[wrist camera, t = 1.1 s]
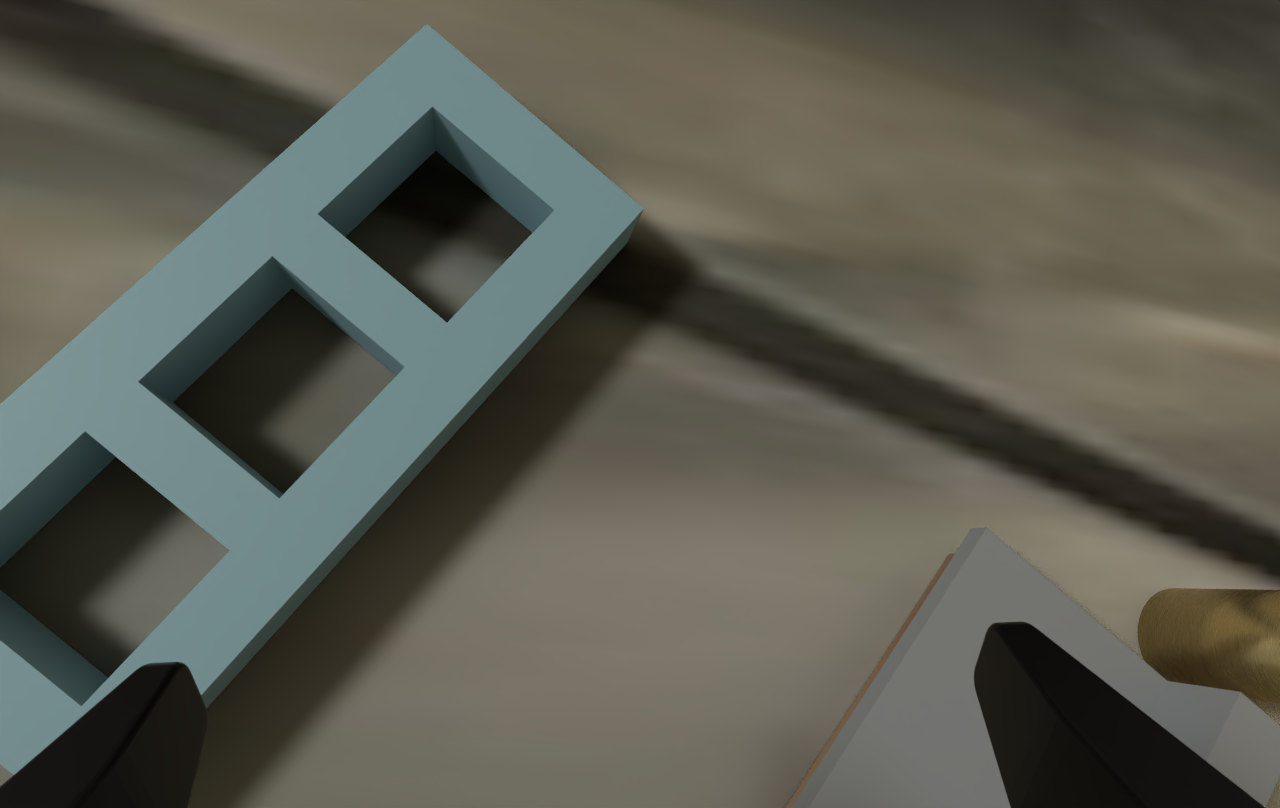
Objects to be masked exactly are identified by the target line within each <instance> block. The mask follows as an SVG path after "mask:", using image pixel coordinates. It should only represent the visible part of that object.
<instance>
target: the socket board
mask: <svg viewBox="0 0 1280 808" xmlns="http://www.w3.org/2000/svg"><path fill="white" fill-rule="evenodd" d="M435 151H436V152H438V153H439V154H440V155H441V156H442V157H444V158H445V159H446V160H447V161H448V162H449V163H451V164H452V165H453V166H454V167H455V168H457V169H458V170H459V171H460V172H461V173H462V174H464V175H465V176H466V177H467V178H468V179H470V180H471V181H472V182H473V183H474V184H475V185H477V186H478V187H479V188H480V189H481V190H483V191H484V192H485V193H486V194H487V195H488V196H490V197H491V198H492V199H493V200H494V201H496V202H497V203H498V204H499V205H500V206H501V207H503V208H504V209H505V210H506V211H507V212H509V213H510V214H511V215H512V216H513V217H514V218H516V219H517V220H518V221H519V222H520V223H522V224H523V225H524V226H525V227H526V228H527V229H529V230H530V231H531V232H532V234H531V235H530V236H529V237H528V238H527V240H526V241H525V242H524V243H523V244H522V245H521V246H520V247H519V248H518V249H517V250H516V251H515V252H514V253H513V254H512V255H511V256H510V257H509V258H508V259H507V260H506V262H505V263H504V264H503V265H502V266H501V267H500V268H499V269H498V270H497V271H496V272H495V273H494V274H493V275H492V276H491V277H490V278H489V279H488V280H487V281H486V283H485V284H484V285H483V286H482V287H481V288H480V289H479V290H478V291H477V292H476V293H475V294H474V295H473V296H472V297H471V298H470V299H469V300H468V301H467V302H466V303H465V305H464V306H463V307H462V308H461V309H460V310H459V311H458V312H457V313H456V314H455V315H454V316H453V317H452V318H451V319H450V320H449V321H448V322H445V321H444V320H443V319H442V318H441V317H440V316H438V315H437V314H436V313H435V312H434V311H432V310H431V309H430V308H429V307H428V306H426V305H425V304H424V303H423V302H422V301H420V300H419V299H418V298H417V297H416V296H415V295H413V294H412V293H411V292H410V291H409V290H407V289H406V288H405V287H404V286H403V285H401V284H400V283H399V282H398V281H397V280H395V279H394V278H393V277H392V276H391V275H390V274H388V273H387V272H386V271H385V270H384V269H382V268H381V267H380V266H379V265H378V264H376V263H375V262H374V261H373V260H372V259H370V258H369V257H368V256H367V255H366V254H365V253H363V252H362V251H361V250H360V249H359V248H357V247H356V246H355V245H354V244H353V243H351V242H350V241H349V240H348V239H347V238H345V237H346V236H347V235H348V234H349V233H350V232H351V231H352V230H353V229H354V228H356V227H357V226H358V225H359V224H360V223H361V222H362V221H363V220H364V219H365V218H366V217H367V216H368V215H369V214H370V213H371V212H372V211H373V210H374V209H375V208H376V207H377V206H379V205H380V204H381V203H382V202H383V201H384V200H385V199H386V198H387V197H388V196H389V195H390V194H391V193H392V192H393V191H394V190H395V189H396V188H397V187H398V186H399V185H400V184H401V183H403V182H404V181H405V180H406V179H407V178H408V177H409V176H410V175H411V174H412V173H413V172H414V171H415V170H416V169H417V168H418V167H419V166H420V165H421V164H422V163H423V162H424V161H425V160H427V159H428V158H429V157H430V156H431V155H432V154H433V153H434V152H435ZM643 209H644V208H642V207H641V206H640V205H639V204H638V203H637V202H635V201H634V200H633V199H632V198H631V197H630V196H628V195H627V194H626V193H625V192H624V191H623V190H621V189H620V188H619V187H618V186H617V185H615V184H614V183H613V182H612V181H611V180H610V179H608V178H607V177H606V176H605V175H604V174H603V173H601V172H600V171H599V170H598V169H597V168H596V167H594V166H593V165H592V164H591V163H590V162H588V161H587V160H586V159H585V158H584V157H583V156H581V155H580V154H579V153H578V152H577V151H576V150H574V149H573V148H572V147H571V146H570V145H568V144H567V143H566V142H565V141H564V140H563V139H561V138H560V137H559V136H558V135H557V134H556V133H554V132H553V131H552V130H551V129H550V128H549V127H547V126H546V125H545V124H544V123H543V122H541V121H540V120H539V119H538V118H537V117H536V116H534V115H533V114H532V113H531V112H530V111H529V110H527V109H526V108H525V107H524V106H523V105H521V104H520V103H519V102H518V101H517V100H516V99H514V98H513V97H512V96H511V95H510V94H509V93H507V92H506V91H505V90H504V89H503V88H502V87H500V86H499V85H498V84H497V83H496V82H494V81H493V80H492V79H491V78H490V77H489V76H487V75H486V74H485V73H484V72H483V71H482V70H480V69H479V68H478V67H477V66H476V65H475V64H473V63H472V62H471V61H470V60H469V59H467V58H466V57H465V56H464V55H463V54H462V53H460V52H459V51H458V50H457V49H456V48H455V47H453V46H452V45H451V44H450V43H449V42H447V41H446V40H445V39H444V38H443V37H442V36H440V35H439V34H438V33H437V32H436V31H435V30H433V29H432V28H431V27H430V26H429V25H428V24H426V25H425V26H424V27H423V28H422V29H421V30H419V31H418V32H417V33H416V34H415V35H414V36H413V37H412V38H410V39H409V40H408V41H407V42H406V43H405V44H404V45H403V46H402V47H400V48H399V49H398V50H397V51H396V52H395V53H394V54H393V55H391V56H390V57H389V58H388V59H387V60H386V61H385V62H384V63H382V64H381V65H380V66H379V67H378V68H377V69H376V70H375V71H373V72H372V73H371V74H370V75H369V76H368V77H367V78H366V79H365V80H363V81H362V82H361V83H360V84H359V85H358V86H357V87H356V88H354V89H353V90H352V91H351V92H350V93H349V94H348V95H347V96H345V97H344V98H343V99H342V100H341V101H340V102H339V103H338V104H336V105H335V106H334V107H333V108H332V109H331V110H330V111H329V112H328V113H326V114H325V115H324V116H323V117H322V118H321V119H320V120H319V121H317V122H316V123H315V124H314V125H313V126H312V127H311V128H310V129H308V130H307V131H306V132H305V133H304V134H303V135H302V136H301V137H299V138H298V139H297V140H296V141H295V142H294V143H293V144H292V145H291V146H289V147H288V148H287V149H286V150H285V151H284V152H283V153H282V154H280V155H279V156H278V157H277V158H276V159H275V160H274V161H273V162H271V163H270V164H269V165H268V166H267V167H266V168H265V169H264V170H262V171H261V172H260V173H259V174H258V175H257V176H256V177H255V178H254V179H252V180H251V181H250V182H249V183H248V184H247V185H246V186H245V187H243V188H242V189H241V190H240V191H239V192H238V193H237V194H236V195H234V196H233V197H232V198H231V199H230V200H229V201H228V202H227V203H225V204H224V205H223V206H222V207H221V208H220V209H219V210H218V211H217V212H215V213H214V214H213V215H212V216H211V217H210V218H209V219H208V220H206V221H205V222H204V223H203V224H202V225H201V226H200V227H199V228H197V229H196V230H195V231H194V232H193V233H192V234H191V235H190V236H188V237H187V238H186V239H185V240H184V241H183V242H182V243H181V244H180V245H178V246H177V247H176V248H175V249H174V250H173V251H172V252H171V253H169V254H168V255H167V256H166V257H165V258H164V259H163V260H162V261H160V262H159V263H158V264H157V265H156V266H155V267H154V268H153V269H151V270H150V271H149V272H148V273H147V274H146V275H145V276H144V277H143V278H141V279H140V280H139V281H138V282H137V283H136V284H135V285H134V286H132V287H131V288H130V289H129V290H128V291H127V292H126V293H125V294H123V295H122V296H121V297H120V298H119V299H118V300H117V301H116V302H114V303H113V304H112V305H111V306H110V307H109V308H108V309H107V310H106V311H104V312H103V313H102V314H101V315H100V316H99V317H98V318H97V319H95V320H94V321H93V322H92V323H91V324H90V325H89V326H88V327H86V328H85V329H84V330H83V331H82V332H81V333H80V334H79V335H77V336H76V337H75V338H74V339H73V340H72V341H71V342H70V343H69V344H67V345H66V346H65V347H64V348H63V349H62V350H61V351H60V352H58V353H57V354H56V355H55V356H54V357H53V358H52V359H51V360H49V361H48V362H47V363H46V364H45V365H44V366H43V367H42V368H40V369H39V370H38V371H37V372H36V373H35V374H34V375H33V376H32V377H30V378H29V379H28V380H27V381H26V382H25V383H24V384H23V385H21V386H20V387H19V388H18V389H17V390H16V391H15V392H14V393H12V394H11V395H10V396H9V397H8V398H7V399H6V400H5V401H3V402H2V403H1V404H0V568H1V567H2V566H3V565H4V564H5V563H6V562H7V561H8V560H9V559H10V558H11V557H12V556H13V555H14V554H15V553H16V552H17V551H18V550H19V549H21V548H22V547H23V546H24V545H25V544H26V543H27V542H28V541H29V540H30V539H31V538H32V537H33V536H34V535H35V534H36V533H37V532H38V531H39V530H40V529H41V528H42V527H43V526H45V525H46V524H47V523H48V522H49V521H50V520H51V519H52V518H53V517H54V516H55V515H56V514H57V513H58V512H59V511H60V510H61V509H62V508H63V507H64V506H65V505H66V504H67V503H69V502H70V501H71V500H72V499H73V498H74V497H75V496H76V495H77V494H78V493H79V492H80V491H81V490H82V489H83V488H84V487H85V486H86V485H87V484H88V483H89V482H90V481H91V480H93V479H94V478H95V477H96V476H97V475H98V474H99V473H100V472H101V471H102V470H103V469H104V468H105V467H106V466H107V465H108V464H109V463H110V462H111V461H112V460H113V459H114V458H115V457H117V458H118V459H119V460H121V461H122V462H123V463H124V464H125V465H127V466H128V467H129V468H130V469H131V470H133V471H134V472H135V473H136V474H138V475H139V476H140V477H141V478H142V479H144V480H145V481H146V482H147V483H148V484H150V485H151V486H152V487H153V488H155V489H156V490H157V491H158V492H159V493H161V494H162V495H163V496H164V497H165V498H167V499H168V500H169V501H170V502H172V503H173V504H174V505H175V506H176V507H178V508H179V509H180V510H181V511H182V512H184V513H185V514H186V515H187V516H188V517H190V518H191V519H192V520H193V521H195V522H196V523H197V524H198V525H199V526H201V527H202V528H203V529H204V530H205V531H207V532H208V533H209V534H210V535H212V536H213V537H214V538H215V539H216V540H218V541H219V542H220V543H221V544H222V545H224V546H225V547H226V548H227V549H229V550H230V551H229V552H228V553H227V554H226V555H225V556H224V557H223V558H222V559H221V560H220V561H219V563H218V564H217V565H216V566H215V567H214V568H213V569H212V570H211V571H210V572H209V573H208V574H207V575H206V576H205V577H204V578H203V579H202V580H201V581H200V582H199V583H198V585H197V586H196V587H195V588H194V589H193V590H192V591H191V592H190V593H189V594H188V595H187V596H186V597H185V598H184V599H183V600H182V601H181V602H180V603H179V604H178V606H177V607H176V608H175V609H174V610H173V611H172V612H171V613H170V614H169V615H168V616H167V617H166V618H165V619H164V620H163V621H162V622H161V623H160V624H159V625H158V626H157V628H156V629H155V630H154V631H153V632H152V633H151V634H150V635H149V636H148V637H147V638H146V639H145V640H144V641H143V642H142V643H141V644H140V645H139V646H138V647H137V648H136V650H135V651H134V652H133V653H132V654H131V655H130V656H129V657H128V658H127V659H126V660H125V661H124V662H123V663H122V664H121V665H120V666H119V667H118V668H117V669H116V671H115V672H114V673H113V674H112V675H111V676H110V677H109V678H108V677H107V676H106V675H104V674H103V673H102V672H101V671H100V670H98V669H97V668H96V667H95V666H93V665H92V664H91V663H90V662H89V661H87V660H86V659H85V658H84V657H82V656H81V655H80V654H79V653H77V652H76V651H75V650H74V649H73V648H71V647H70V646H69V645H68V644H66V643H65V642H64V641H63V640H62V639H60V638H59V637H58V636H57V635H55V634H54V633H53V632H52V631H51V630H49V629H48V628H47V627H46V626H44V625H43V624H42V623H41V622H39V621H38V620H37V619H36V618H35V617H33V616H32V615H31V614H30V613H28V612H27V611H26V610H25V609H24V608H22V607H21V606H20V605H19V604H17V603H16V602H15V601H14V600H12V599H11V598H10V597H9V596H8V595H6V594H5V593H4V592H3V591H1V590H0V765H2V766H3V767H4V768H5V769H7V770H8V771H9V772H10V773H12V774H13V775H14V774H16V773H17V772H18V771H19V770H20V769H21V768H23V767H24V766H25V765H26V764H27V763H28V762H30V761H31V760H32V759H33V758H34V757H35V756H37V755H38V754H39V753H40V752H41V751H42V750H44V749H45V748H46V747H47V746H48V745H49V744H50V743H52V742H53V741H54V740H55V739H56V738H57V737H59V736H60V735H61V734H62V733H63V732H64V731H66V730H67V729H68V728H69V727H70V726H71V725H73V724H74V723H75V722H76V721H77V720H78V719H80V718H81V717H82V716H83V715H84V714H85V713H87V712H88V711H89V710H90V709H91V708H92V707H94V706H95V705H96V704H97V703H98V702H99V701H100V700H102V699H103V698H104V697H105V696H106V695H107V694H109V693H110V692H111V691H112V690H113V689H114V688H116V687H117V686H118V685H119V684H120V683H121V682H123V681H124V680H125V679H126V678H127V677H128V676H130V675H131V674H132V673H133V672H134V671H135V670H137V669H138V668H140V667H141V666H143V665H146V664H149V663H162V662H182V663H184V664H185V665H187V666H188V668H189V669H190V671H191V673H192V676H193V678H194V680H195V682H196V685H197V687H198V689H199V692H200V694H201V696H202V698H203V701H204V703H205V705H206V708H208V707H209V706H210V704H211V703H212V702H213V701H214V700H215V699H216V698H217V697H218V696H219V694H220V693H221V692H222V691H223V690H224V689H225V688H226V687H227V686H228V684H229V683H230V682H231V681H232V680H233V679H234V678H235V677H236V676H237V675H238V673H239V672H240V671H241V670H242V669H243V668H244V667H245V666H246V665H247V663H248V662H249V661H250V660H251V659H252V658H253V657H254V656H255V655H256V653H257V652H258V651H259V650H260V649H261V648H262V647H263V646H264V645H265V644H266V642H267V641H268V640H269V639H270V638H271V637H272V636H273V635H274V634H275V632H276V631H277V630H278V629H279V628H280V627H281V626H282V625H283V624H284V622H285V621H286V620H287V619H288V618H289V617H290V616H291V615H292V614H293V612H294V611H295V610H296V609H297V608H298V607H299V606H300V605H301V604H302V603H303V601H304V600H305V599H306V598H307V597H308V596H309V595H310V594H311V593H312V591H313V590H314V589H315V588H316V587H317V586H318V585H319V584H320V583H321V581H322V580H323V579H324V578H325V577H326V576H327V575H328V574H329V573H330V571H331V570H332V569H333V568H334V567H335V566H336V565H337V564H338V563H339V562H340V560H341V559H342V558H343V557H344V556H345V555H346V554H347V553H348V552H349V550H350V549H351V548H352V547H353V546H354V545H355V544H356V543H357V542H358V540H359V539H360V538H361V537H362V536H363V535H364V534H365V533H366V532H367V531H368V529H369V528H370V527H371V526H372V525H373V524H374V523H375V522H376V521H377V519H378V518H379V517H380V516H381V515H382V514H383V513H384V512H385V511H386V509H387V508H388V507H389V506H390V505H391V504H392V503H393V502H394V501H395V499H396V498H397V497H398V496H399V495H400V494H401V493H402V492H403V491H404V490H405V488H406V487H407V486H408V485H409V484H410V483H411V482H412V481H413V480H414V478H415V477H416V476H417V475H418V474H419V473H420V472H421V471H422V470H423V468H424V467H425V466H426V465H427V464H428V463H429V462H430V461H431V460H432V459H433V457H434V456H435V455H436V454H437V453H438V452H439V451H440V450H441V449H442V447H443V446H444V445H445V444H446V443H447V442H448V441H449V440H450V439H451V437H452V436H453V435H454V434H455V433H456V432H457V431H458V430H459V429H460V427H461V426H462V425H463V424H464V423H465V422H466V421H467V420H468V419H469V418H470V416H471V415H472V414H473V413H474V412H475V411H476V410H477V409H478V408H479V406H480V405H481V404H482V403H483V402H484V401H485V400H486V399H487V398H488V396H489V395H490V394H491V393H492V392H493V391H494V390H495V389H496V388H497V387H498V385H499V384H500V383H501V382H502V381H503V380H504V379H505V378H506V377H507V375H508V374H509V373H510V372H511V371H512V370H513V369H514V368H515V367H516V365H517V364H518V363H519V362H520V361H521V360H522V359H523V358H524V357H525V355H526V354H527V353H528V352H529V351H530V350H531V349H532V348H533V347H534V346H535V344H536V343H537V342H538V341H539V340H540V339H541V338H542V337H543V336H544V334H545V333H546V332H547V331H548V330H549V329H550V328H551V327H552V326H553V324H554V323H555V322H556V321H557V320H558V319H559V318H560V317H561V316H562V314H563V313H564V312H565V311H566V310H567V309H568V308H569V307H570V306H571V305H572V303H573V302H574V301H575V300H576V299H577V298H578V297H579V296H580V295H581V293H582V292H583V291H584V290H585V289H586V288H587V287H588V286H589V285H590V283H591V282H592V281H593V280H594V279H595V278H596V277H597V276H598V275H599V274H600V272H601V271H602V270H603V269H604V268H605V267H606V266H607V265H608V264H609V262H610V261H611V260H612V259H613V258H614V257H615V256H616V255H617V254H618V252H619V251H620V250H621V249H622V248H623V247H624V246H625V245H626V244H627V242H628V240H629V238H630V236H631V234H632V232H633V230H634V228H635V226H636V224H637V222H638V220H639V218H640V216H641V213H642V211H643ZM291 289H293V290H294V291H296V292H297V293H298V294H299V295H300V296H302V297H303V298H304V299H305V300H306V301H308V302H309V303H310V304H311V305H312V306H314V307H315V308H316V309H317V310H318V311H319V312H321V313H322V314H323V315H324V316H325V317H327V318H328V319H329V320H330V321H331V322H333V323H334V324H335V325H336V326H337V327H339V328H340V329H341V330H342V331H343V332H345V333H346V334H347V335H348V336H349V337H351V338H352V339H353V340H354V341H355V342H357V343H358V344H359V345H360V346H361V347H363V348H364V349H365V350H366V351H367V352H369V353H370V354H371V355H372V356H373V357H374V358H376V359H377V360H378V361H379V362H380V363H382V364H383V365H384V366H385V367H386V368H388V369H389V370H390V371H391V372H392V373H394V374H395V375H396V377H395V378H394V379H393V380H392V381H391V382H390V383H389V384H388V385H387V386H386V387H385V388H384V389H383V391H382V392H381V393H380V394H379V395H378V396H377V397H376V398H375V399H374V400H373V401H372V402H371V403H370V404H369V405H368V406H367V407H366V408H365V409H364V410H363V412H362V413H361V414H360V415H359V416H358V417H357V418H356V419H355V420H354V421H353V422H352V423H351V424H350V425H349V426H348V427H347V428H346V429H345V430H344V431H343V432H342V434H341V435H340V436H339V437H338V438H337V439H336V440H335V441H334V442H333V443H332V444H331V445H330V446H329V447H328V448H327V449H326V450H325V451H324V452H323V453H322V454H321V456H320V457H319V458H318V459H317V460H316V461H315V462H314V463H313V464H312V465H311V466H310V467H309V468H308V469H307V470H306V471H305V472H304V473H303V474H302V475H301V477H300V478H299V479H298V480H297V481H296V482H295V483H294V484H293V485H292V486H291V487H290V488H289V489H288V490H287V491H286V492H285V493H284V494H283V493H282V492H280V491H279V490H278V489H277V488H276V487H274V486H273V485H272V484H271V483H270V482H268V481H267V480H266V479H265V478H264V477H262V476H261V475H260V474H259V473H258V472H256V471H255V470H254V469H253V468H252V467H250V466H249V465H248V464H247V463H245V462H244V461H243V460H242V459H241V458H239V457H238V456H237V455H236V454H235V453H233V452H232V451H231V450H230V449H229V448H227V447H226V446H225V445H224V444H223V443H221V442H220V441H219V440H218V439H216V438H215V437H214V436H213V435H212V434H210V433H209V432H208V431H207V430H206V429H204V428H203V427H202V426H201V425H200V424H198V423H197V422H196V421H195V420H194V419H192V418H191V417H190V416H189V415H188V414H186V413H185V412H184V411H183V410H181V409H180V408H179V407H178V406H177V405H175V404H174V403H173V402H174V401H175V400H176V399H177V398H178V397H179V396H180V395H181V394H182V393H183V392H184V391H185V390H186V389H188V388H189V387H190V386H191V385H192V384H193V383H194V382H195V381H196V380H197V379H198V378H199V377H200V376H201V375H202V374H203V373H204V372H205V371H206V370H207V369H208V368H209V367H210V366H212V365H213V364H214V363H215V362H216V361H217V360H218V359H219V358H220V357H221V356H222V355H223V354H224V353H225V352H226V351H227V350H228V349H229V348H230V347H231V346H232V345H233V344H234V343H236V342H237V341H238V340H239V339H240V338H241V337H242V336H243V335H244V334H245V333H246V332H247V331H248V330H249V329H250V328H251V327H252V326H253V325H254V324H255V323H256V322H257V321H258V320H260V319H261V318H262V317H263V316H264V315H265V314H266V313H267V312H268V311H269V310H270V309H271V308H272V307H273V306H274V305H275V304H276V303H277V302H278V301H279V300H280V299H281V298H282V297H284V296H285V295H286V294H287V293H288V292H289V291H290V290H291Z"/></svg>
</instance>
